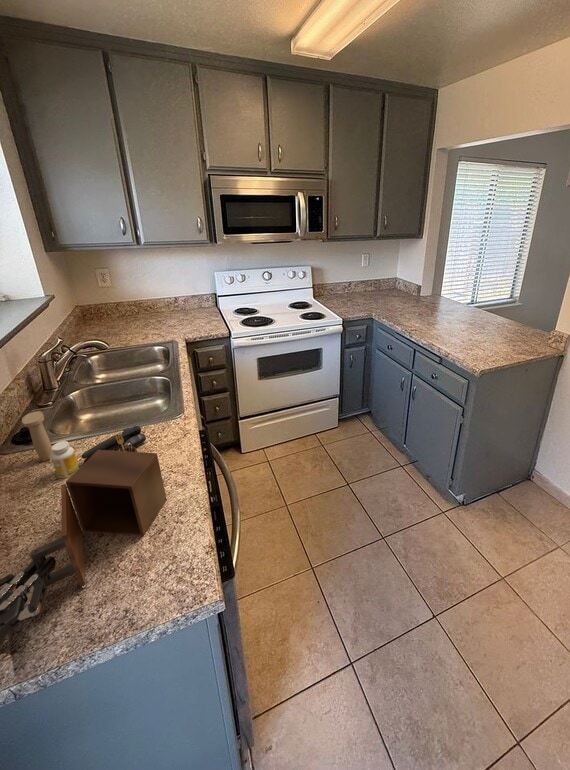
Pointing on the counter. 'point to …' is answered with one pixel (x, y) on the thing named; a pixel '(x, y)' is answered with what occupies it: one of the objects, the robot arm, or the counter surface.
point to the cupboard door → (65, 544)
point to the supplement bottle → (64, 459)
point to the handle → (38, 434)
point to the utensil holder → (129, 449)
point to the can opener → (128, 435)
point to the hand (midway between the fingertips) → (48, 558)
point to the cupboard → (118, 492)
